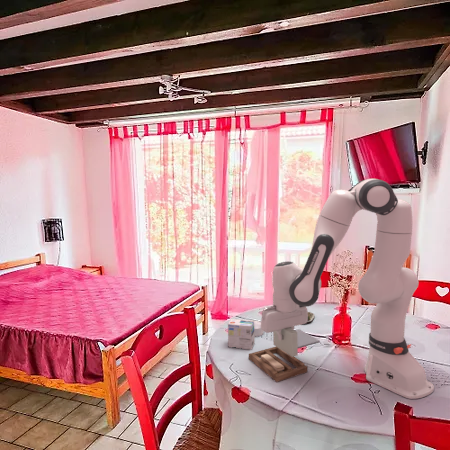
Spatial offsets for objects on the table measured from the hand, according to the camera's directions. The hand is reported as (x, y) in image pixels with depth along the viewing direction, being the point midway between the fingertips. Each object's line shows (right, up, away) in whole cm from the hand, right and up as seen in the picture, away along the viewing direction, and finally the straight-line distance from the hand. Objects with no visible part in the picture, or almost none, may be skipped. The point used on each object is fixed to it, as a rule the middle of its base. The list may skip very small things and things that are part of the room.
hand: (285, 338), depth 131 cm
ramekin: (-9, -8, +29) cm, 32 cm away
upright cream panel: (0, -5, 0) cm, 5 cm away
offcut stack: (-5, -11, -2) cm, 12 cm away
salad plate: (+14, -6, +47) cm, 49 cm away
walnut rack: (-3, -10, 0) cm, 11 cm away
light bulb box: (-16, -9, +17) cm, 25 cm away
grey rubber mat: (+9, -8, +22) cm, 25 cm away
